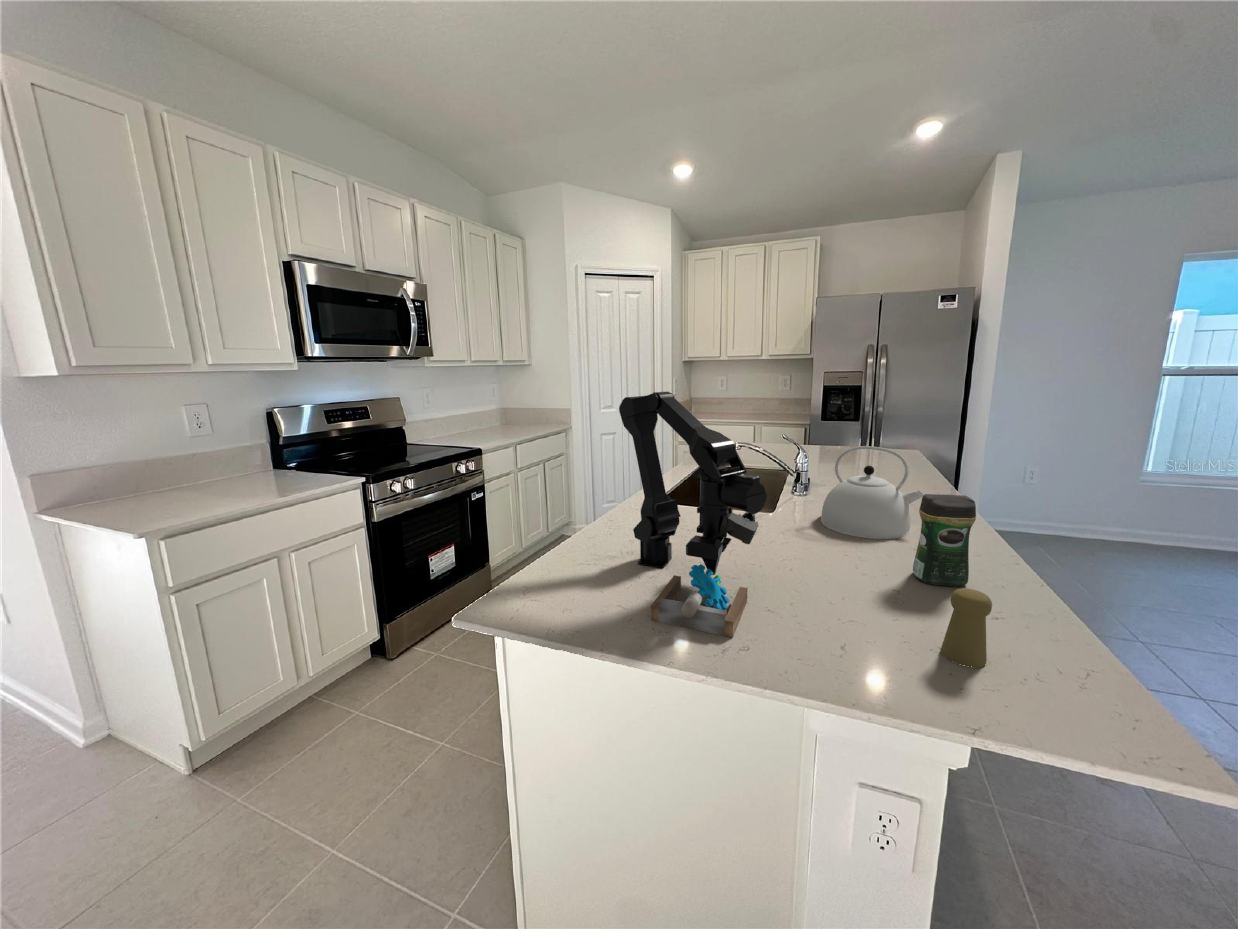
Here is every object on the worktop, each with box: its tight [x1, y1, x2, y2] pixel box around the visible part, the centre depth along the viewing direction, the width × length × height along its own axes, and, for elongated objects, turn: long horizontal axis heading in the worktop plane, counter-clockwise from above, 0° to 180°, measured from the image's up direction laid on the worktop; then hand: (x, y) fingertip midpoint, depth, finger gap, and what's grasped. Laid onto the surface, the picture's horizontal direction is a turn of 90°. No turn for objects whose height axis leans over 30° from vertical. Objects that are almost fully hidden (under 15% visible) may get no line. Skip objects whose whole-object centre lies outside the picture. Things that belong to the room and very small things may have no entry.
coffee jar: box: [912, 493, 977, 587], centre depth 101 cm, size 10×8×19 cm
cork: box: [940, 587, 993, 668], centre depth 76 cm, size 6×6×11 cm
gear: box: [688, 563, 730, 611], centre depth 95 cm, size 11×6×10 cm
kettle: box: [820, 445, 925, 540], centre depth 134 cm, size 25×23×23 cm
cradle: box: [650, 574, 749, 638], centre depth 91 cm, size 15×15×6 cm
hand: (712, 574), depth 100 cm, fingers closed
